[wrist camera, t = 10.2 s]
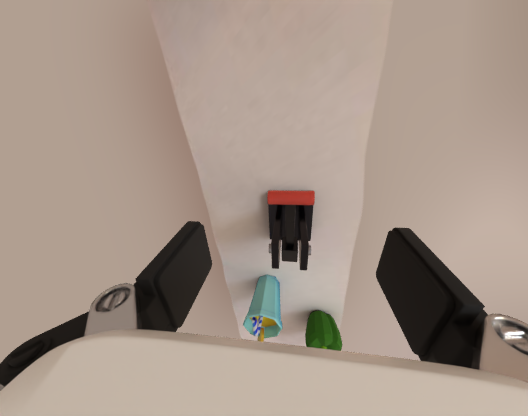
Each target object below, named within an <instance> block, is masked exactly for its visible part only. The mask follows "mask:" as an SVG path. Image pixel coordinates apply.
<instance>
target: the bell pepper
mask: <svg viewBox="0 0 528 416" xmlns="http://www.w3.org/2000/svg"><path fill="white" fill-rule="evenodd" d="M305 336H306V346H307V347H312V348H321V349H329V350H337V351H341V348H342V341H341V336H340V332H339V330H338V328H337V325H336V323H335V321H334V319H333V318H332V317H331V316H330V315H329V314H325V313H324V312H322V311H314V312H312V313H311V314H310V316H309V318H308V322H307V327H306V334H305Z"/></svg>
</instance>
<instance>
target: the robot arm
mask: <svg viewBox="0 0 528 416" xmlns="http://www.w3.org/2000/svg"><path fill="white" fill-rule="evenodd" d="M211 266H212V260H211V256H210V251H209V247H208V243H207V238H206V234H205V230H204V226H203V225H202V224H201V223H200V222H193V221H192V222H191V221H189V222H187V223H186V224H185V225H184V226H183V227H182V228H181V230H180V231H179V232H178V233H177V234H176V235H175V236H174V237H173V238H172V239H171V240H170V242H169V243H168V244H167V245H166V246H165V247H164V248H163V249H162V250H161V251H160V253H159V254H158V255H157V256H156V257H155V258H154V259H153V260H152V261H151V262H150V263H149V265H148V266H147V267H146V268H145V269H144V270H143V271H142V272H141V273H140V275H139V276H138V277H137V278H136V281H137V282H136V283H135V284H134V285H132V284H128V283H124V284H119V285H115V286H113V287H111V288H109V289H107V290H106V291H104V292H103V293H101V294H100V295H99V296H98V297H97V298H96V299H95V300H94V301H93V303H92V305H91V307H90V310H89V312H87V313H85V314H82V315H80V316H78V317H76V318H74V319H72V320H70V321H68V322H65V323H64V324H61V325H59V326H57V327H55V328H53V329H51V330H48V331H46V332H44V333H42V334H40V335H38V336H36V337H34V338H32V339H30V340H28V341H26V342H25V343H23V344H22V345H20V346H19V347H17V348H16V349H15V350H14V351H12V352H11V353H10V354H9V355H8V356H7V357H6V358H5V359H4V360H3V362H2V363H1V364H0V416H528V324H526V323H524V322H522V321H520V320H518V319H515V318H513V317H510V316H506V315H502V314H490V315H488V314H487V313H486V312H485V311H484V310H483V308H484V307H485V306H484V305H483V304H482V303H481V302H480V301H479V300H478V299H477V298H476V297H475V296H474V295H473V294H472V293H471V292H470V291H469V289H468V288H467V287H466V286H465V285H464V284H463V283H462V282H461V281H460V280H459V279H458V278H457V277H456V276H455V275H454V274H453V273H452V272H451V271H450V270H449V269H448V268H447V267H446V266H445V265H444V264H443V262H442V261H441V260H440V259H439V258H438V257H437V256H436V255H435V254H434V253H433V252H432V251H431V250H430V249H429V248H428V247H427V246H426V245H425V244H424V243H423V242H422V241H421V240H420V239H419V238H418V237H417V235H415V233H413V231H412V230H411V229H409V228H394V229H393V230H392V231H389V232H388V235H387V238H386V242H385V245H384V248H383V251H382V255H381V258H380V261H379V265H378V268H377V271H376V277H377V280H378V282H379V284H380V286H381V288H382V290H383V292H384V294H385V296H386V299H387V300H388V303H389V304H390V307H391V309H392V311H393V313H394V315H395V317H396V319H397V321H398V323H399V325H400V327H401V329H402V331H403V333H404V335H405V337H406V339H407V341H408V343H409V345H410V347H411V349H412V351H413V352H414V353H415V354H417V355H418V356H419V358H420V360H421V361H418V360H410V359H403V358H394V357H386V356H378V355H369V354H362V353H354V352H345V351H337V350H329V349H321V348H312V347H304V346H295V345H287V344H278V343H269V342H261V341H252V340H243V339H234V338H225V337H216V336H207V335H198V334H189V333H179V332H176V331H177V329H178V328H179V327H181V326H182V324H183V322H184V321H185V319H186V317H187V315H188V313H189V311H190V309H191V307H192V305H193V303H194V301H195V299H196V297H197V295H198V293H199V291H200V289H201V287H202V285H203V283H204V281H205V279H206V277H207V275H208V273H209V271H210V269H211Z"/></svg>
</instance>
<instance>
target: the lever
mask: <svg viewBox="0 0 528 416" xmlns="http://www.w3.org/2000/svg"><path fill="white" fill-rule="evenodd" d="M267 199H268V204H275V205H286V237H282V261H290V262H297V255H298V238H297V237H294V228H295V205H314V200H315V193H314V191H268V197H267Z"/></svg>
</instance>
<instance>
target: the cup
mask: <svg viewBox="0 0 528 416" xmlns="http://www.w3.org/2000/svg"><path fill="white" fill-rule="evenodd" d="M243 325H244V327H245V328H246V329H247V330H248V331H249V333H250V334H252V335H254V336H258V341H261V342H263V341H264V338H269V337H275V336H278V334H279V332H280V331H281V329H282V322H281V316H280V286H279V282H278V280H277V279H276V277H273V276H270V275H265V276H261V277H260V278H259V280H258V283H257V286H256V289H255V292H254V296H253V299H252V302H251V305H250V308H249V312H248V314H247V316H246V318H245V321H244V323H243Z"/></svg>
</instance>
